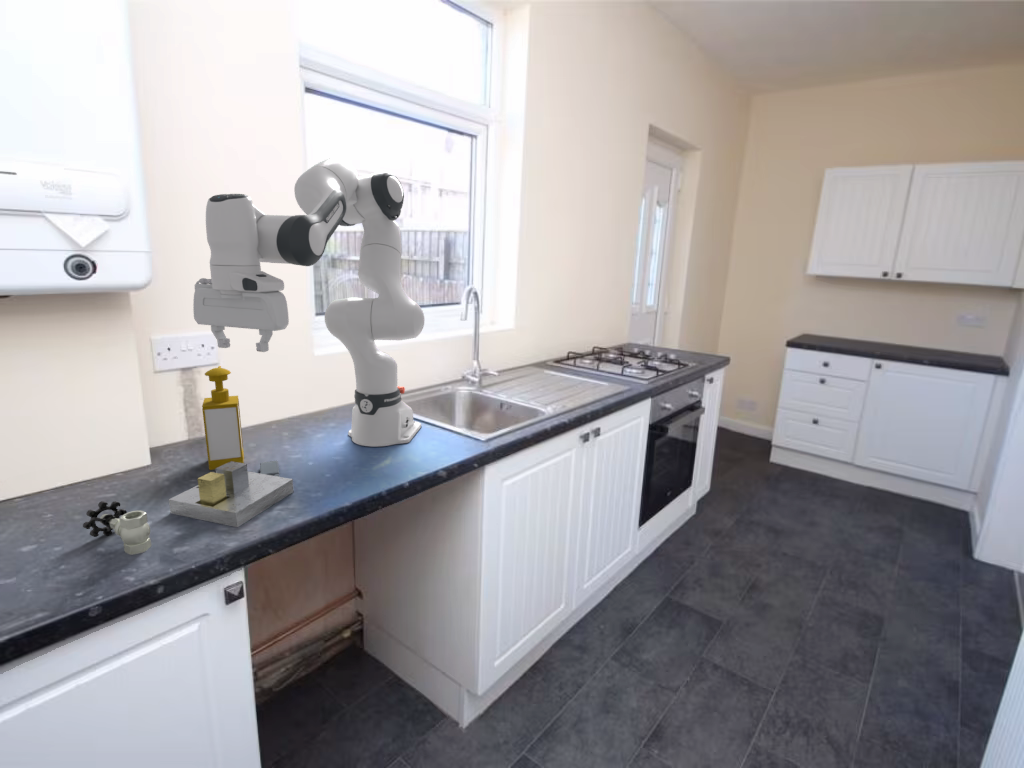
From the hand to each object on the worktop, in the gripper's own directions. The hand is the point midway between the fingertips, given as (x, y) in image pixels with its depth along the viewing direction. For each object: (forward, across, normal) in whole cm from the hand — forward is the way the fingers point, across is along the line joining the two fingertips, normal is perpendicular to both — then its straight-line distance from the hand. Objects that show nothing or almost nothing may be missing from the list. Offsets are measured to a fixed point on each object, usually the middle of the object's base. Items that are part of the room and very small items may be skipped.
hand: (243, 349), depth 107 cm
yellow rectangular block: (+31, 0, -11) cm, 33 cm away
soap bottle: (+31, -19, +12) cm, 39 cm away
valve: (+32, -6, -25) cm, 40 cm away
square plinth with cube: (+31, 0, -6) cm, 32 cm away
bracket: (+32, -2, +7) cm, 33 cm away
